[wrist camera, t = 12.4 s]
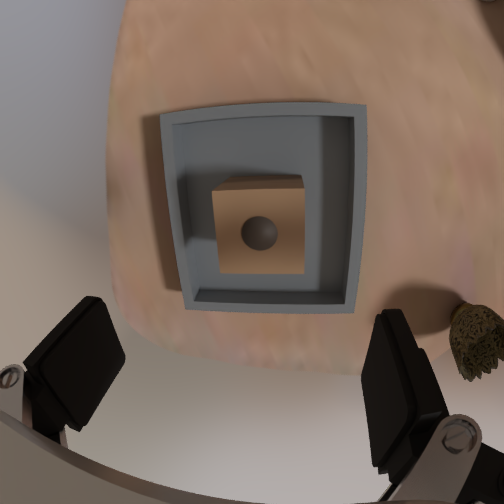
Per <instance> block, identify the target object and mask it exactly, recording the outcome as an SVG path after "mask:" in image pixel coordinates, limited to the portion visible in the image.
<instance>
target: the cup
mask: <svg viewBox="0 0 504 504" xmlns="http://www.w3.org/2000/svg"><path fill="white" fill-rule="evenodd" d="M450 322H451V329H450V334H449V341H450V346H451V350H452V353H453V356H454V359H455V361H456V364H457V367H458V370H459V373H460V374H462V376H463V378H464V380H466V379H468V380H469V381H470V382H472V381H473V379H474V378H475V375H476V376H477V377H478V378H479V379H481V376H482V371H483V372H484V373H488V374H490V373H491V369H497V367H498V358H499V359H501V360H502V361H504V320H503V319H502V318H501V317H500V316H499V315H498V314H497V313H495V312H494V311H493V310H492V309H490V308H488V307H487V306H484V305H472V304H470V303H462V304H460V305H459V306H457V307H456V308H455V309H454V311H453V312H452V315H451V319H450Z"/></svg>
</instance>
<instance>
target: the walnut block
mask: <svg viewBox="0 0 504 504" xmlns="http://www.w3.org/2000/svg"><path fill="white" fill-rule="evenodd" d="M212 200H213V211H214V221H215V231H216V240H217V249H218V258H219V267H220V273H234V274H304V262H305V187H304V183H303V179H302V175H268V176H240V177H229V178H228V179H227V180H225V181H224V182H223V183H221V184H220V185H219V186H218V187H216V188H215V189H214V190H212Z"/></svg>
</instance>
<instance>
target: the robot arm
mask: <svg viewBox="0 0 504 504" xmlns="http://www.w3.org/2000/svg"><path fill="white" fill-rule="evenodd" d="M482 1H489V2H490V1H495V0H482ZM124 363H125V354H124V351H123V349H122V346H121V344H120V341H119V339H118V336H117V334H116V331H115V329H114V326H113V323H112V320H111V318H110V315H109V312H108V309H107V307H106V304H105V303H104V302H103V300H102V299H101V298H99V297H93V296H86V297H84V298H83V299H82V300H81V302H79V303H78V304H77V305H76V306H75V307H74V308H73V309H72V310H71V311H70V312H69V313H68V314H67V315H66V316H65V317H64V318H63V319H62V321H60V322H59V323H58V324H57V325H56V327H55V328H54V329H53V330H52V331H51V332H50V333H49V334H48V335H47V336H46V337H45V338H44V339H43V340H42V342H41V343H40V344H39V345H38V346H37V347H36V348H35V349H34V350H33V351H32V352H31V353H30V355H29V356H28V357H27V358H26V359H25V360H24V361H23V364H24V365H25V367H26V369H27V371H26V372H25V371H24V370H23V368H22V367H21V366H20V365H16V364H13V365H9V366H6V367H5V368H3V369H2V370H1V371H0V504H263V503H251V502H243V501H235V500H227V499H222V498H215V497H210V496H204V495H199V494H195V493H190V492H186V491H182V490H177V489H174V488H170V487H166V486H163V485H159V484H155V483H152V482H149V481H146V480H142V479H139V478H137V477H133V476H131V475H128V474H125V473H122V472H119V471H117V470H115V469H112V468H109V467H107V466H104V465H102V464H100V463H97V462H95V461H93V460H91V459H88V458H86V457H84V456H82V455H79V454H77V453H75V452H73V451H71V450H69V449H68V445H67V440H66V434H65V428H64V426H65V424H67V425H68V426H69V427H70V428H71V429H74V430H76V431H78V432H80V431H81V429H82V427H83V426H86V425H87V423H88V422H89V420H90V418H91V417H92V415H93V413H94V412H95V410H96V408H97V406H98V405H99V403H100V402H101V400H102V398H103V397H104V395H105V393H106V392H107V390H108V389H109V387H110V385H111V384H112V382H113V381H114V379H115V377H116V376H117V374H118V373H119V371H120V370H121V368H122V366H123V365H124ZM361 383H362V390H363V396H364V402H365V409H366V416H367V423H368V431H369V439H370V448H371V458H372V465H373V467H378V474H386V473H388V475H389V481H390V482H391V484H390V485H389V487H388V488H387V489H386V490H385V492H384V493H383V494H382V496H381V497H380V498H379V499H378V501H377V502H371V503H357V504H504V453H502V452H499V451H498V450H496V449H494V448H492V447H490V446H488V445H486V444H484V443H482V442H481V441H482V433H481V429H480V427H479V425H478V424H477V423H476V422H475V421H474V419H472V418H470V417H468V416H466V415H462V414H454V415H451V416H450V415H449V412H448V409H447V406H446V403H445V401H444V398H443V395H442V392H441V390H440V387H439V384H438V382H437V379H436V377H435V374H434V372H433V369H432V367H431V364H430V362H429V359H428V357H427V355H426V353H425V351H424V349H422V348H418V346H417V343H416V341H415V339H414V336H413V334H412V332H411V330H410V327H409V325H408V323H407V321H406V319H405V316H404V314H403V312H402V310H401V309H384V310H383V311H382V313H381V314H377V316H376V318H375V323H374V327H373V332H372V336H371V340H370V344H369V348H368V352H367V355H366V359H365V363H364V366H363V370H362V374H361Z"/></svg>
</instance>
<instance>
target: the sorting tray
mask: <svg viewBox="0 0 504 504" xmlns="http://www.w3.org/2000/svg"><path fill="white" fill-rule="evenodd" d="M160 128H161V141H162V152H163V163H164V172H165V181H166V190H167V198H168V206H169V214H170V221H171V228H172V235H173V241H174V248H175V254H176V260H177V266H178V272H179V278H180V283H181V289H182V294H183V299H184V304H185V309H187V310H203V311H222V312H247V313H288V314H336V313H354V309H355V302H356V296H357V288H358V281H359V273H360V265H361V255H362V245H363V234H364V222H365V207H366V187H367V107H366V105H361V104H346V103H323V102H277V103H254V104H239V105H227V106H217V107H208V108H199V109H192V110H185V111H178V112H172V113H166V114H160ZM268 175H302V179H303V183H304V187H305V262H304V274H234V273H220V267H219V258H218V249H217V240H216V231H215V221H214V211H213V200H212V190H214V189H215V188H216V187H218V186H219V185H220V184H221V183H223V182H224V181H225V180H227V179H228V178H229V177H240V176H268Z"/></svg>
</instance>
